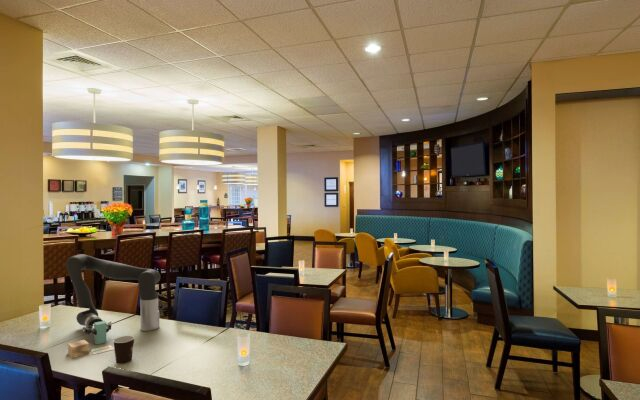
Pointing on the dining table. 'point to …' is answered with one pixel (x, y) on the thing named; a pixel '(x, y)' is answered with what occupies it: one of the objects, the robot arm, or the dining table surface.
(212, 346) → the dining table surface
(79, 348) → the base brick
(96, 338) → the tall block
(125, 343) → the coffee mug
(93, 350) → the page
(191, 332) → the dining table surface
